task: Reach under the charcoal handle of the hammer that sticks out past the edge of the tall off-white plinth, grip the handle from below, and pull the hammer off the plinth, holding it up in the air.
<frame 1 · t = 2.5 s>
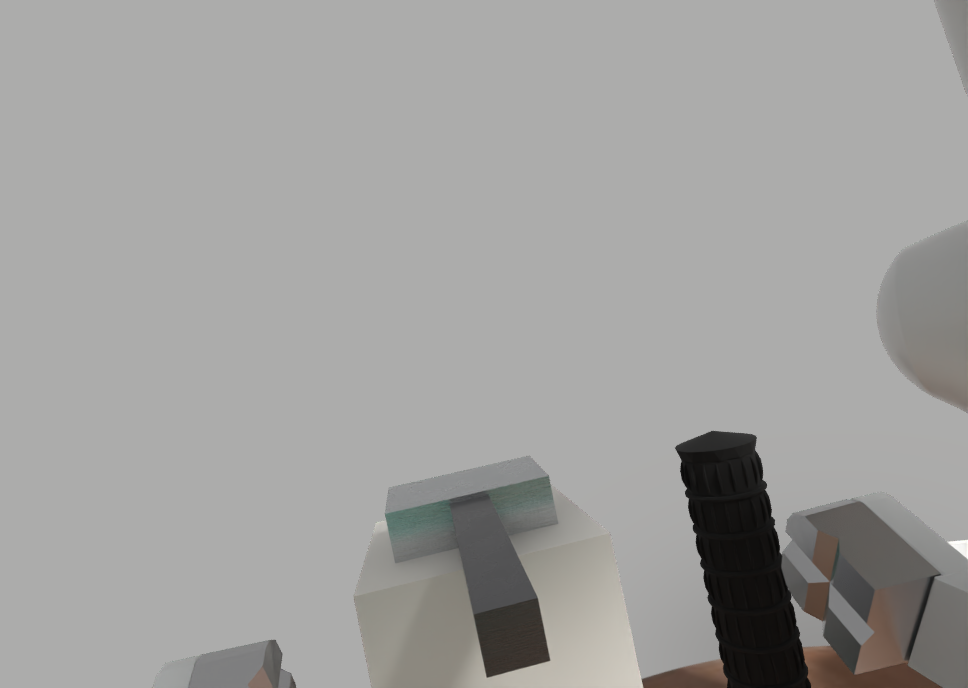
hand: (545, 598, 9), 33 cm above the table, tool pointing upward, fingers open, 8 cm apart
hammer: (472, 527, 39), point 26 cm above the table, touching plinth
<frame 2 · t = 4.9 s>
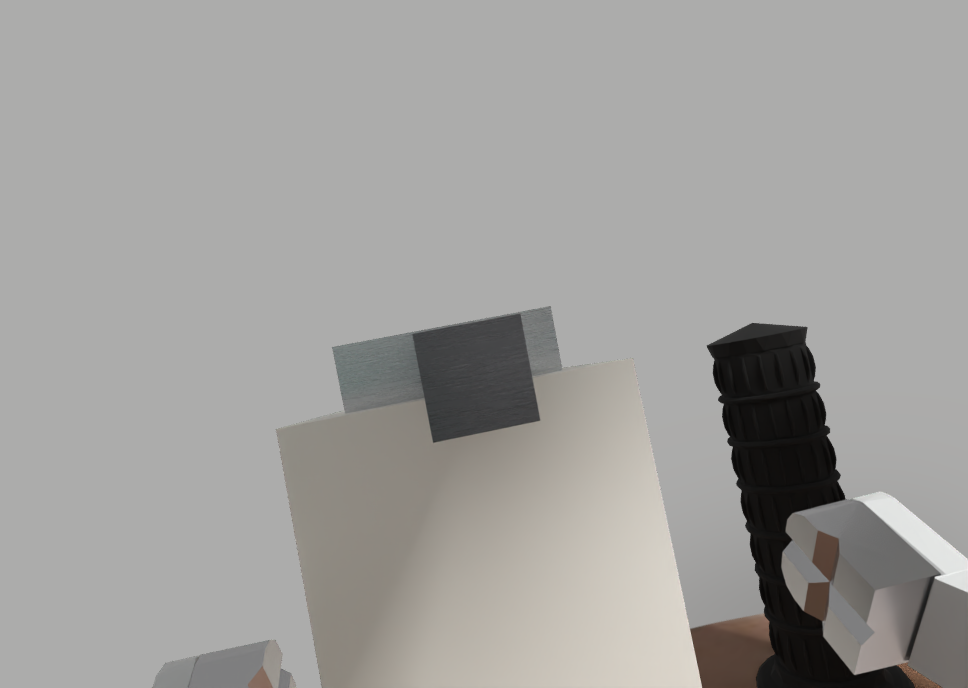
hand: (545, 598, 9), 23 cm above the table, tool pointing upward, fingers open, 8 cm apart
handle grip: (832, 686, 43), on the table
hammer: (452, 386, 30), point 26 cm above the table, touching plinth
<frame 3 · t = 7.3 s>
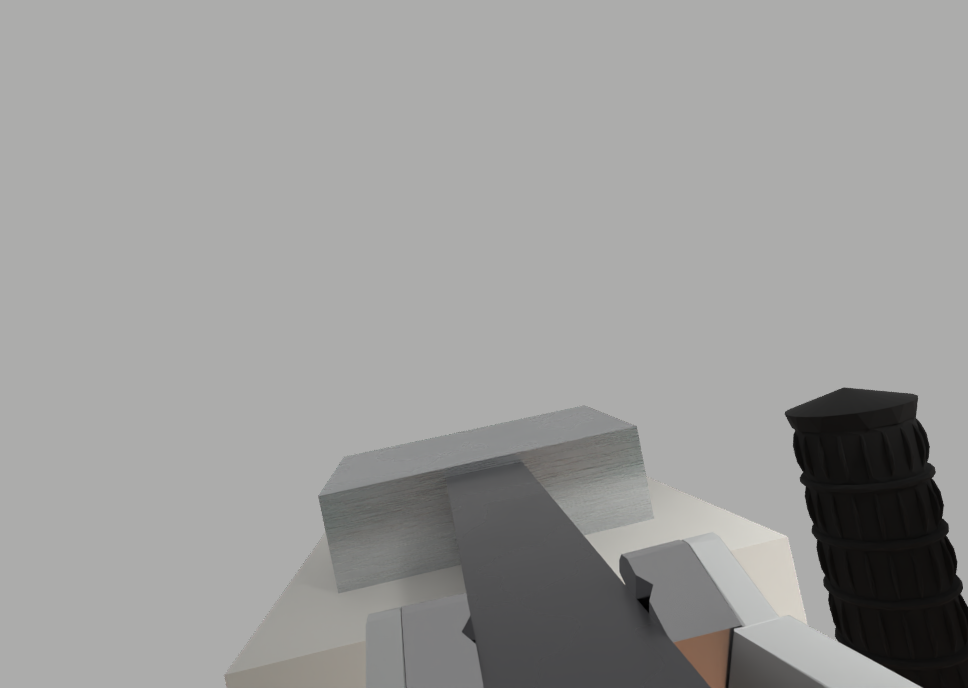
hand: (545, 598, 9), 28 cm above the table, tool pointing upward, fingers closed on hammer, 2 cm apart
hammer: (489, 525, 21), point 26 cm above the table, touching gripper, plinth
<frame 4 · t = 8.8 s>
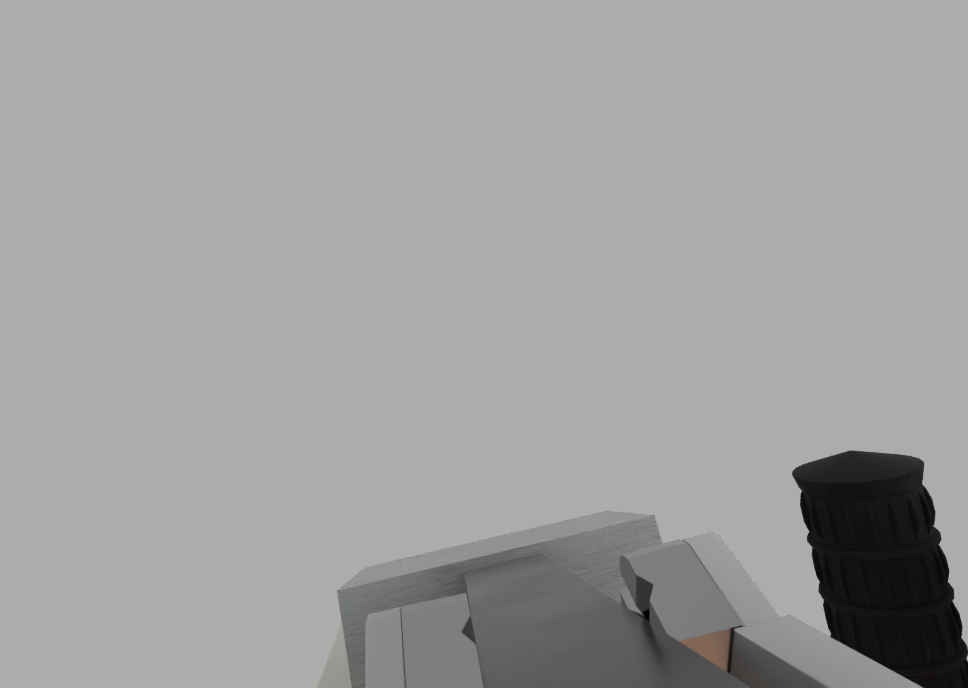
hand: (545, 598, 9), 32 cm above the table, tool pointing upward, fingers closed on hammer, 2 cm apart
hammer: (512, 633, 21), point 27 cm above the table, tilted 11°, touching gripper
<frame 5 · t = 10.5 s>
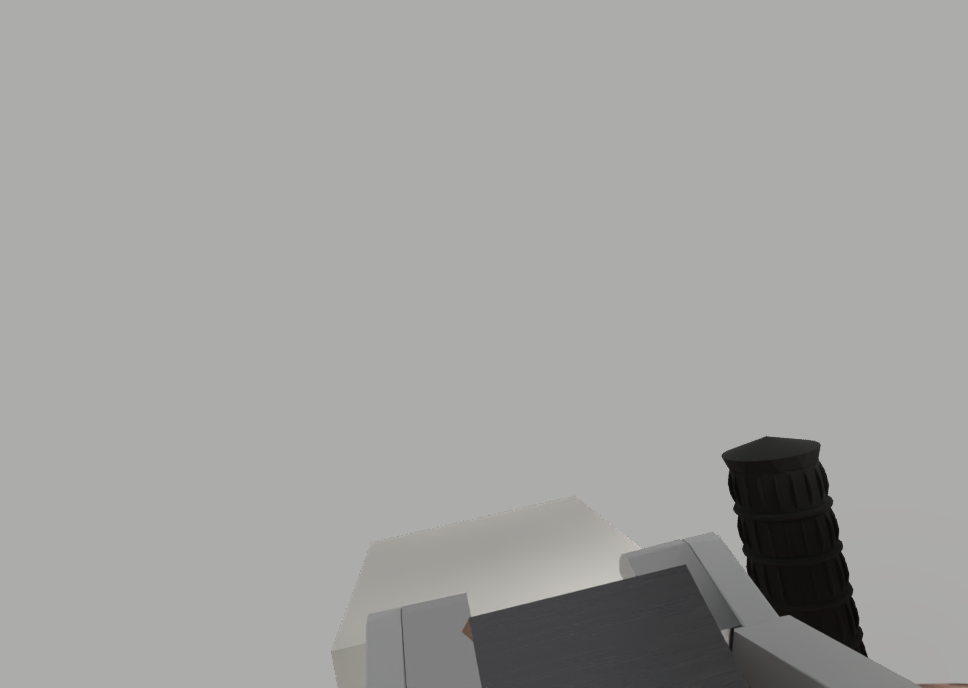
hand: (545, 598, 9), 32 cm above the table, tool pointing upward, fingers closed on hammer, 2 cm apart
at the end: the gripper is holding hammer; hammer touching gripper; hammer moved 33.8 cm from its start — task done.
